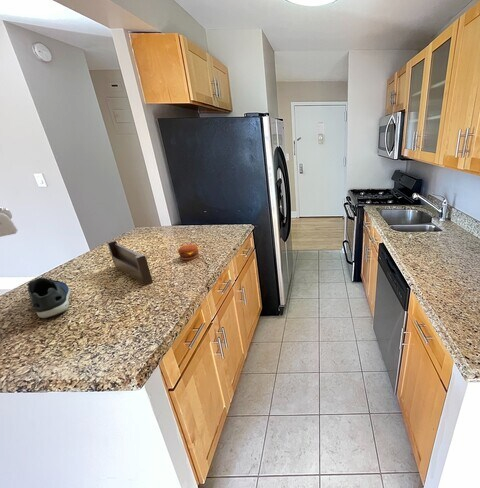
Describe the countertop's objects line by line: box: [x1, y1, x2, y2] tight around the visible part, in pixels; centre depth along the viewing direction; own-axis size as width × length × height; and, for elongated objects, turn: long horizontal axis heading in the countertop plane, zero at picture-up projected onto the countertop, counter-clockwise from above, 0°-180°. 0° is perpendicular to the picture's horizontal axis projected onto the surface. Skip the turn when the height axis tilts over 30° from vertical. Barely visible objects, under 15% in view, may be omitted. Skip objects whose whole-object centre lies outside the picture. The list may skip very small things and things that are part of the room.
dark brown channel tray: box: [106, 239, 154, 286], centre depth 118 cm, size 3×32×13 cm, turn 56°
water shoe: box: [27, 276, 71, 319], centre depth 98 cm, size 10×29×12 cm, turn 51°
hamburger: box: [175, 243, 202, 261], centre depth 136 cm, size 9×10×7 cm
